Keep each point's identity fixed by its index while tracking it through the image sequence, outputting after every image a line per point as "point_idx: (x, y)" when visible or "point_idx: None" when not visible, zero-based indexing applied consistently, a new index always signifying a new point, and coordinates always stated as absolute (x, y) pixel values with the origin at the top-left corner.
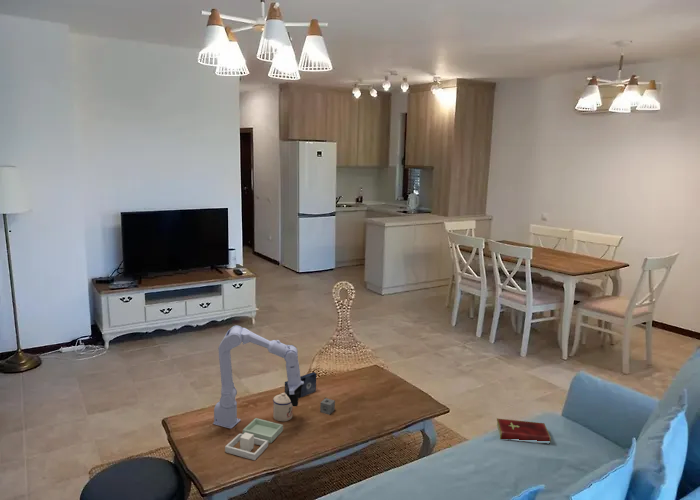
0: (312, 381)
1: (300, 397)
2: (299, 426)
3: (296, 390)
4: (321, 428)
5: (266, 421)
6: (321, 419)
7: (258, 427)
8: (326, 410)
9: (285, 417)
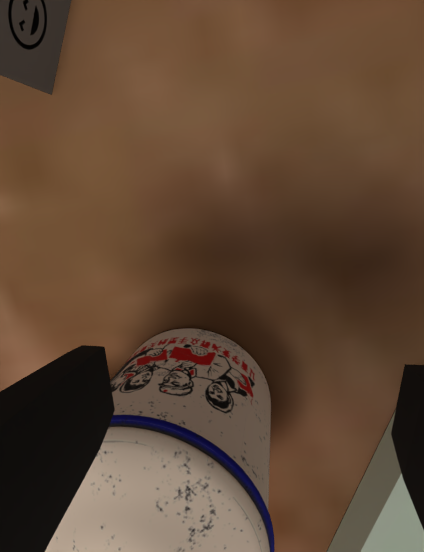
0: None
1: (103, 347)
2: (330, 243)
3: (24, 525)
4: (349, 8)
5: (380, 538)
6: (175, 50)
7: (396, 550)
8: (38, 9)
9: (261, 389)
